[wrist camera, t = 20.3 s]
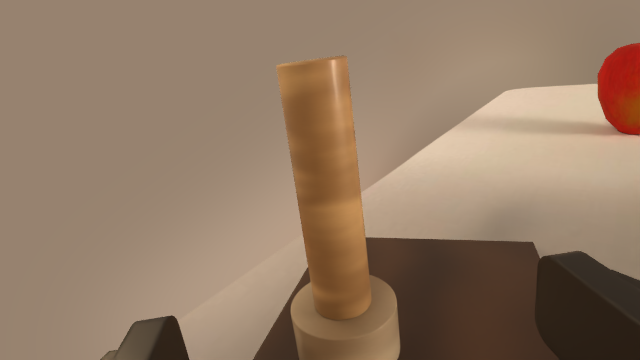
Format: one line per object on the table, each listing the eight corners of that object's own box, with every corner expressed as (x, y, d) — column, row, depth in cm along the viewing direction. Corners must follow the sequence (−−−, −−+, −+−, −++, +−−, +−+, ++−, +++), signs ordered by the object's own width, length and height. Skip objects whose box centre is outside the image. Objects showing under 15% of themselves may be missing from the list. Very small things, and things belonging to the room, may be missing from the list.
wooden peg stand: (278, 370, 17) (217, 73, 13) (325, 305, 21) (289, 61, 17) (380, 403, 15) (345, 57, 11) (412, 323, 19) (394, 48, 15)
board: (243, 419, 17) (235, 388, 17) (328, 256, 30) (325, 236, 29) (616, 496, 13) (623, 457, 12) (532, 266, 25) (533, 241, 25)
